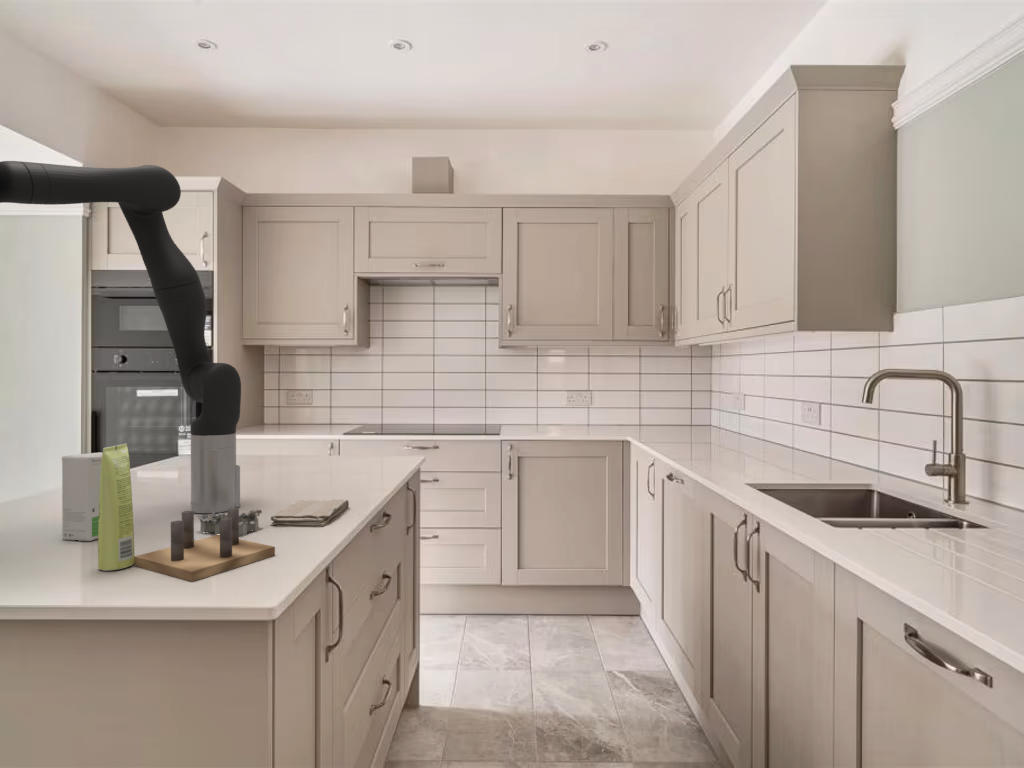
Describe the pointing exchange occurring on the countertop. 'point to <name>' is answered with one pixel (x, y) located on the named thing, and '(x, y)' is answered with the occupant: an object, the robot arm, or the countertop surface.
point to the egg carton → (213, 521)
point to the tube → (115, 510)
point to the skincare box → (80, 496)
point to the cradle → (203, 550)
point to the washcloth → (309, 513)
